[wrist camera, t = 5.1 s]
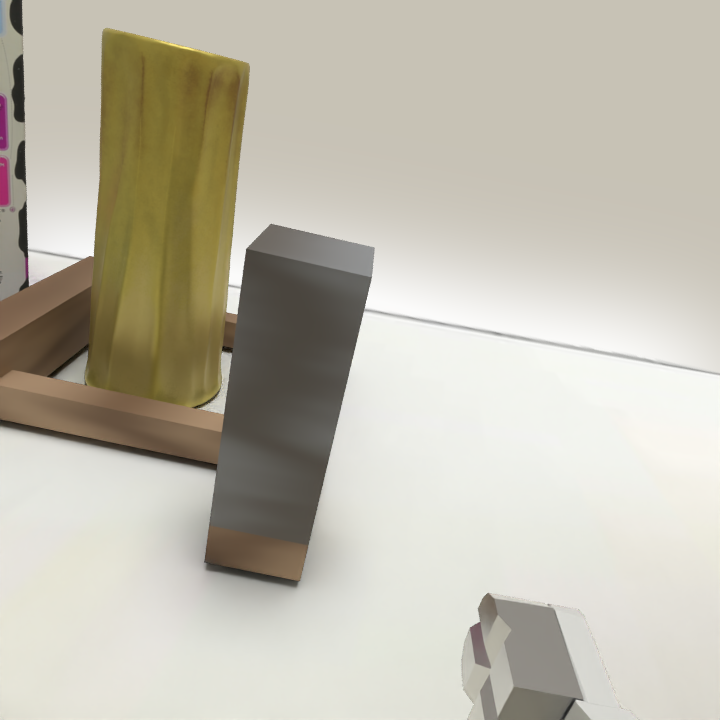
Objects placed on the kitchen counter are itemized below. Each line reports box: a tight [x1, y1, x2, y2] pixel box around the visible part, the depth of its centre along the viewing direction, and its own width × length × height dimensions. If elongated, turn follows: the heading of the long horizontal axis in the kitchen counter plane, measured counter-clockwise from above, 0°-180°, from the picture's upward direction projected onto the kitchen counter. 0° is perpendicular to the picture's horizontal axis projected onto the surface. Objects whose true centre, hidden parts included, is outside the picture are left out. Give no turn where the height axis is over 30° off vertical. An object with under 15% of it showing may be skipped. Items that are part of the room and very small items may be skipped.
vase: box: [85, 28, 250, 408], centre depth 23 cm, size 6×6×14 cm
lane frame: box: [0, 224, 374, 581], centre depth 22 cm, size 14×16×10 cm
